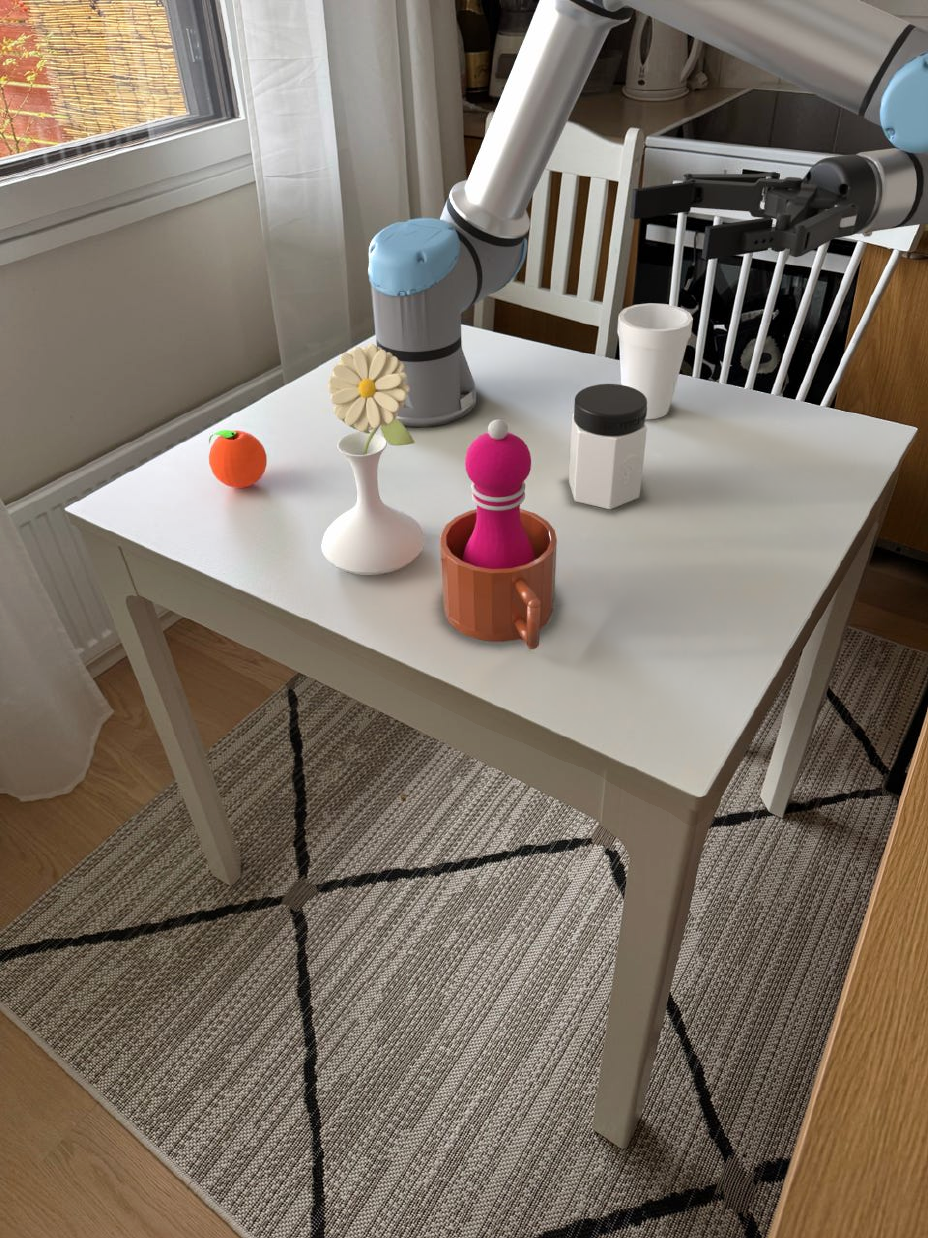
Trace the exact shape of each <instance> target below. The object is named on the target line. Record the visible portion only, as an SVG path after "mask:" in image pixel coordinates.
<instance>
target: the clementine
mask: <svg viewBox="0 0 928 1238" xmlns="http://www.w3.org/2000/svg"><path fill="white" fill-rule="evenodd" d="M214 435H216V436H218V437H217V438H216V439H215V440H214V441H213V443H212V445H211V446H210V449H209V454H208V464H209V467H210V469H211V470H210V471H211V472H212V474H213V475H214V477H215V478H216V479H217V480H218V481H219V482H220V483H222V484H224V485H225V486H227V487H230V488H235V489H244V488H248V487H251V486H253V485H254V484H255V483H258V481H259V480H261V478H262V476H263V475H264V473H265V471H266V468H267V465H268V464H267V462H268V461H267V459H268V457H267V453H266V449H265V448H264V446H263V444H262V442H261V441H260V440H259V439H258V438H257V437H255V436H254V435H252V434H251V433H249V432H246V431H243V430H230V429H223V430H218V431H216V432H214V433H213V434H211V435H210V436H209V438H208V444H210V443H211V439H212V437H213V436H214Z"/></svg>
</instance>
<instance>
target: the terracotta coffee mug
mask: <svg viewBox="0 0 928 1238" xmlns="http://www.w3.org/2000/svg"><path fill="white" fill-rule="evenodd" d="M520 519H521V522H522V526H523V528H524V531H525V533H526V535H527V537H528V539H529V541H530V543H531V545H532V549H533V552H534V556H535V560H534V561H532V562H530V563H528V564H526V565H522V566H518V567H514V568H507V569H489V568H482V567H476V566H474V565H471V564H468V563H466V562H463V554H464V551H465V547H466V545H467V543H468V541H469V539H470V537H471V535H472V533H473V531H474V529H475V524H476V520H477V508H475V509H471V510H468V511H465V512H464V513H462V514H459V515H457V516H455V517H454V518H453V519H451V520H450V521H449V522H448V523H446V525H445V526H444V528H443V529H442V532H441V534H440V537H439V540H440V541H439V543H440V561H441V562H440V563H441V580H442V596H443V597H442V598H443V608H444V609H443V611H444V615H445V617H446V620H447V621H448V623H449V624H450V625H451V626H452V627H453V628H454V629H456V630H457V631H458V632H460V633H461V634H463V635H465V636H468V637H470V638H473V639H476V640H480V641H485V642H495V643H496V642H499V643H500V642H501V643H502V642H511V641H516V640H520V639H522V640H523V642H524V643H525V645H526V646H527V648H528V649H530V650H536V649H538V647H539V645H540V635H541V634H540V632H541V631H540V630H542V629H543V628H544V627H545V626H546V625H547V624H548V623H549V621H550V620H551V618H552V616H553V611H554V603H555V592H556V591H555V590H556V570H557V569H556V567H557V549H558V547H557V544H558V539H557V535H556V531H555V530H556V529H554V527H553V526H552V525H551V523H550V522H549V521H548V520H547V519H545V518H544V517H542V516H541V515H538V514H536V513H535V512H532V511H529V510H526V509H523V508H520Z"/></svg>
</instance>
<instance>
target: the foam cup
mask: <svg viewBox="0 0 928 1238" xmlns="http://www.w3.org/2000/svg"><path fill="white" fill-rule="evenodd" d="M693 321H694V318H693V316H692V313H690V312H689V311H688V310H686V309H684V308H682V307H679V306H676V305H673V304H672V305H671V304H668V303H651V302H649V303H640V304H633V305H631V306H628V307H624V308H623V309H622V310H621V312H620V313H619V314H618V319H617V329H616V331H617V332H616V333H617V335H618V345H619V367H620V385H625V386H629V387H632V388H634V389H636V390H638V391H640V392H641V393H643V394H644V395H645V397H646V399H647V415H646V418H645V420H655V419H660V418H662V417H664V416H667V414H668V412H669V411H670V407H671V403H672V400H673V396H674V393H675V390H676V386H677V382H678V378H679V374H680V371H681V368H682V363H683V360H684V356H685V353H686V349H687V346H688V341H689V340H690V338H691V337H692V336H691V335H692V328H693Z"/></svg>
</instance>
